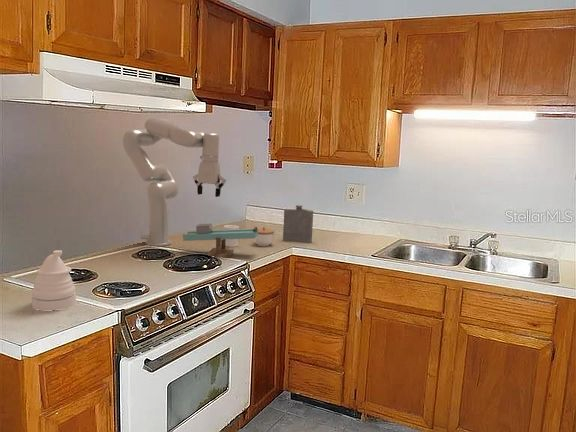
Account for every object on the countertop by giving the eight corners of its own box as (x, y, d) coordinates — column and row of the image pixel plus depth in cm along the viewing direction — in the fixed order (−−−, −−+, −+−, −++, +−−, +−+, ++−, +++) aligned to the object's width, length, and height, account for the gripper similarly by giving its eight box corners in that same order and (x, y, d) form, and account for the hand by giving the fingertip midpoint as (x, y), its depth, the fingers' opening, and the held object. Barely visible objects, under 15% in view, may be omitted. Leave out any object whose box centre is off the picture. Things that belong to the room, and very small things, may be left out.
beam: (183, 243, 240) (182, 232, 239) (189, 239, 249) (188, 228, 249) (255, 241, 236) (254, 229, 236) (258, 236, 246) (257, 226, 246)
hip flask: (282, 241, 280) (283, 204, 277) (283, 239, 284) (285, 203, 281) (311, 243, 278) (313, 206, 274) (312, 241, 282) (314, 205, 278)
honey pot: (84, 301, 170) (83, 248, 167) (55, 314, 158) (53, 257, 155) (53, 296, 174) (51, 244, 171) (22, 307, 162) (20, 252, 159)
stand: (207, 256, 238) (207, 237, 237) (213, 250, 251) (213, 232, 249) (228, 258, 237) (228, 238, 236) (233, 251, 250) (234, 233, 249)
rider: (196, 235, 240) (196, 226, 240) (200, 233, 246) (199, 223, 246) (209, 235, 240) (208, 225, 239) (212, 232, 246) (211, 223, 245)
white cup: (221, 244, 266) (222, 225, 264) (236, 243, 269) (236, 224, 267) (225, 247, 259) (225, 228, 257) (240, 246, 261) (240, 227, 260)
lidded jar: (271, 247, 262) (271, 229, 261) (250, 246, 264) (251, 228, 262) (275, 243, 273) (275, 226, 271) (255, 242, 274) (256, 224, 273)
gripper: (190, 158, 241) (188, 194, 244) (222, 161, 235) (220, 198, 238) (198, 157, 248) (197, 192, 251) (230, 160, 242) (228, 196, 245)
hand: (208, 195), depth 245 cm, fingers open, 9 cm apart
